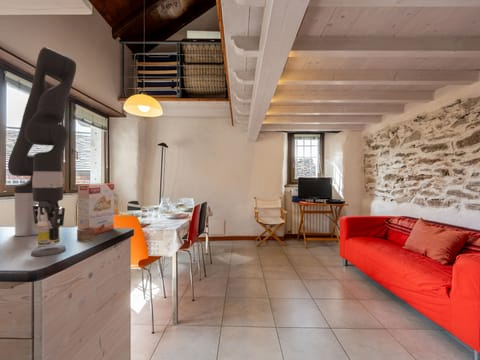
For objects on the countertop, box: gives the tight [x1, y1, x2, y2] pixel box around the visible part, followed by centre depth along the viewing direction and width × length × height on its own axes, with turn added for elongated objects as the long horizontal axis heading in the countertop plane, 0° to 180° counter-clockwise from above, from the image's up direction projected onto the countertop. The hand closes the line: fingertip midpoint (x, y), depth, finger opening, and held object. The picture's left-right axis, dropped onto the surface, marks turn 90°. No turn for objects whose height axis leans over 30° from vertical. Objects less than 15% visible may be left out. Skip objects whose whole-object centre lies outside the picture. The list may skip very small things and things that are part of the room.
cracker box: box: [77, 183, 115, 236], centre depth 101 cm, size 14×6×21 cm, turn 168°
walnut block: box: [76, 228, 95, 243], centre depth 90 cm, size 4×4×4 cm
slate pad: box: [30, 244, 66, 258], centre depth 75 cm, size 8×8×1 cm
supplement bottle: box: [37, 214, 61, 247], centre depth 75 cm, size 5×5×10 cm
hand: (48, 238), depth 75 cm, fingers closed on supplement bottle, 5 cm apart
